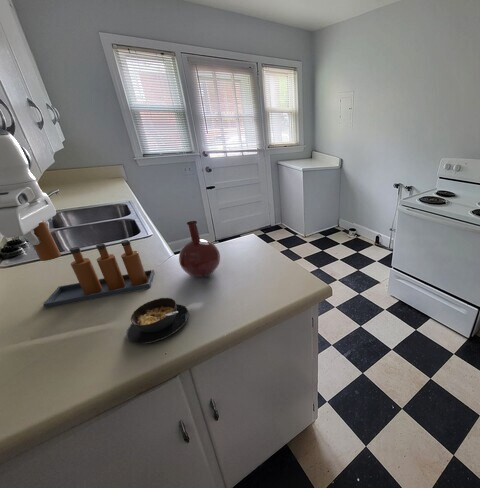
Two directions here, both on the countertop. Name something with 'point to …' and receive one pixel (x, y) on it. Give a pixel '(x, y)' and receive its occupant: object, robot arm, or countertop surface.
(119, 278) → the bottle
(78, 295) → the tray
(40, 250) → the loose bottle
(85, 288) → the bottle
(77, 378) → the countertop surface
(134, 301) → the countertop surface
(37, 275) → the countertop surface
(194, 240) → the round-bottom flask
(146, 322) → the soup bowl
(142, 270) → the bottle
